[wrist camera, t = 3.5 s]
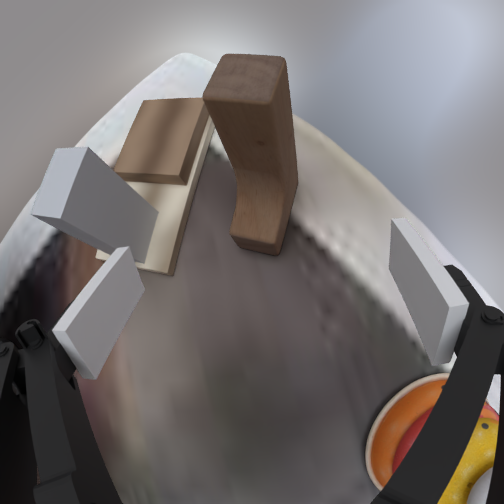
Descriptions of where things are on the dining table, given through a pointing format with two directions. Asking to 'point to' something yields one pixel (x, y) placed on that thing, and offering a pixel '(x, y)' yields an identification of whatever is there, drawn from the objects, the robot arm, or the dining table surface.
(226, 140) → the wooden block
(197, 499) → the dining table surface
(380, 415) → the stacking toy
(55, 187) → the grey pillar
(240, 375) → the dining table surface
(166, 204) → the base board
